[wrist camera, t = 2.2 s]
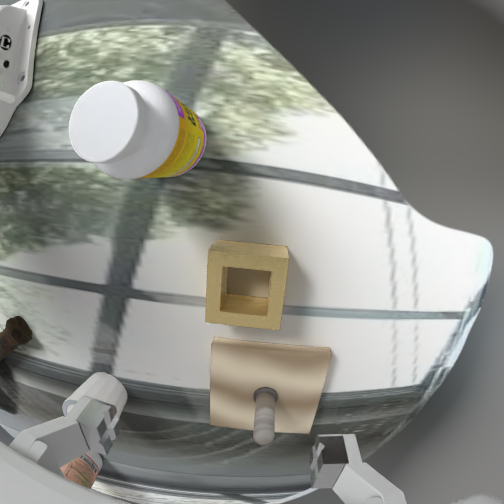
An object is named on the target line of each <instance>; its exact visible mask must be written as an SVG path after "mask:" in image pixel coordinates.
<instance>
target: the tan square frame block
mask: <svg viewBox="0 0 504 504" xmlns="http://www.w3.org/2000/svg"><path fill="white" fill-rule="evenodd" d="M288 264H289V255H288V250H287V247H286V246H276V245H266V244H256V243H246V242H236V241H226V240H216V241H215V243H214V244H213V245H212V246H211V247H210V249H209V250H208V265H207V288H206V317H205V322H209V323H217V324H225V325H233V326H242V327H251V328H261V329H271V330H280V324H281V317H282V310H283V302H284V295H285V287H286V280H287V272H288ZM228 267H234V268H244V269H253V270H263V271H271V274H270V283H269V292H268V298H262V297H252V296H242V295H233V294H226V290H227V274H228Z"/></svg>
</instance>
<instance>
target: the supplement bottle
mask: <svg viewBox="0 0 504 504" xmlns="http://www.w3.org/2000/svg"><path fill="white" fill-rule="evenodd" d="M69 138H70V142H71V145H72V147H73V149H74V151H75V152H76V153H77V154H78V155H79V156H80V157H81V158H82V159H84V160H86V161H88V162H92V163H94V164H95V165H96V166H97V167H98V168H99V169H100V170H101V171H103V172H104V173H106V174H107V175H109V176H112V177H115V178H119V179H137V178H159V177H175V176H179V175H182V174H184V173H186V172H188V171H189V170H191V169H192V168H193V167H194V166H195V165H196V164H197V163H198V162H199V160H200V159H201V157H202V155H203V153H204V150H205V147H206V130H205V127H204V124H203V122H202V121H201V119H200V118H199V117H198V115H197V114H195V113H194V112H193V111H192V110H191V109H189V108H188V107H187V106H185V105H184V104H183V103H181V102H180V101H179V100H177V99H176V98H175V97H173V96H172V95H170V94H169V93H167V92H166V91H165V90H163V89H162V88H161V87H159V86H157V85H156V84H153V83H150V82H147V81H141V80H134V81H127V82H124V83H121V82H116V81H105V82H101V83H98V84H96V85H94V86H93V87H91V88H90V89H88V90H87V91H86V92H85V93H84V94H83V95H82V96H81V97H80V98H79V100H78V101H77V103H76V104H75V106H74V108H73V110H72V113H71V116H70V121H69Z"/></svg>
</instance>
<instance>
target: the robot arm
mask: <svg viewBox="0 0 504 504" xmlns="http://www.w3.org/2000/svg"><path fill="white" fill-rule="evenodd" d="M42 5H43V1H42V0H22V1H19V2H17V3H15V4H13V5H11V6H9V5H0V136H1V135H2V133H3V132H4V130H5V128H6V127H7V125H8V123H9V121H10V119H11V117H12V115H13V113H14V111H15V109H16V107H17V106H18V105H19V104H20V103H21V102H22V100H23V99H24V98H25V97H26V96H27V95H28V93H29V92H30V90H31V87H32V80H33V66H34V56H35V47H36V40H37V33H38V27H39V21H40V15H41V10H42ZM116 413H117V409H116V406H114V405H112V404H109V403H106V402H103V401H100V400H97V399H94V398H91V397H88V396H85V395H84V396H82V397H81V398H80V399H79V400H78V402H77V403H76V404H75V405H74V407H73V408H72V409H71V410H70V412H69V413H68V414H67V416H66V417H64V416H62V417H59V418H56V419H54V420H51V421H48V422H45V423H42V424H39V425H37V426H34V427H31V428H28V429H25V430H22V431H21V432H20V433H19V435H18V436H17V437H16V438H15V439H14V441H13V442H12V443H11V444H10V445H9V447H8V446H6V445H5V444H3V443H2V442H0V504H131V503H128V502H125V501H122V500H119V499H116V498H113V497H110V496H108V495H105V494H102V493H99V492H97V491H94V490H92V489H89V488H87V487H85V486H82V485H80V484H78V483H75V482H73V481H71V480H69V479H66V478H65V476H64V474H63V473H62V471H61V469H60V467H62V466H64V465H66V464H68V463H69V462H71V461H73V460H75V459H76V458H78V457H80V456H82V455H83V454H85V453H87V452H88V451H89V450H91V451H94V452H97V453H100V454H103V455H106V456H107V454H108V452H109V451H110V449H111V447H112V442H111V441H112V440H114V439H116V438H117V436H118V434H119V430H120V420H119V418H118V417H117V416H116ZM310 468H311V469H312V470H313V472H312V474H311V483H312V488H333V490H334V491H335V493H336V494H337V495H338V496H339V497H340V499H341V500H342V501H343V502H344V503H345V504H407V503H406V500H405V497H404V493H403V492H402V491H401V490H400V489H398V488H397V487H396V486H395V485H393V484H392V483H391V482H389V481H388V480H387V479H386V478H384V477H383V476H382V475H380V474H379V473H378V472H377V471H376V470H374V469H373V468H372V467H371V466H369V465H368V464H367V463H363V462H362V459H361V455H360V451H359V447H358V444H357V440H356V436H355V435H354V434H342V435H341V434H333V435H317V436H316V438H315V446H313V447H312V450H311V453H310ZM449 504H504V502H503V501H501V500H499V499H498V498H496V497H493V496H492V495H489V494H487V493H484V492H482V493H477V494H474V495H471V496H469V497H466V498H463V499H461V500H458V501H455V502H452V503H449Z"/></svg>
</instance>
